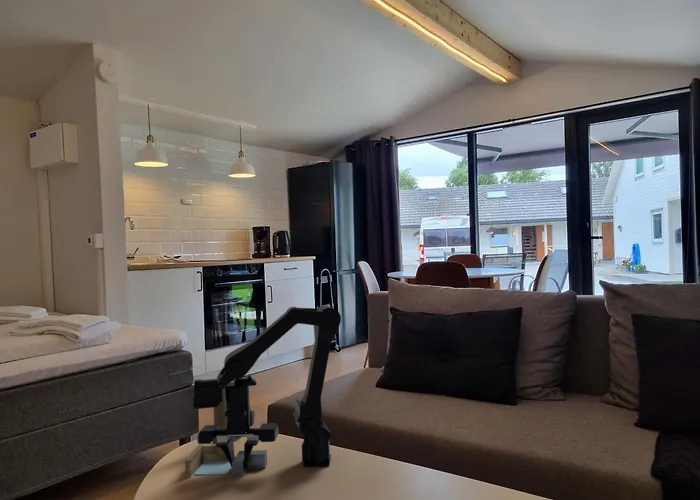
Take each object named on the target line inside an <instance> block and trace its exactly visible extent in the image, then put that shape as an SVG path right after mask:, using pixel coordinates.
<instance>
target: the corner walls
mask: <svg viewBox="0 0 700 500" xmlns="http://www.w3.org/2000/svg"><path fill="white" fill-rule="evenodd" d="M233 446H234V447H235V443H234V442H233ZM227 460H228V459H227V457H226V455H225V454H224V452H223V451H222V449H221V448H220V447H217V446H216V444H212V443H210V444H198V445H197V446H196V447H195V448H194V450H193V451H191V453H190V454H189V456H188V457H187V458H186V459H185V460H184V464H185V465H184V467H185V468H184V469H185V478H191V477H193V476H194V474H195V473H196V471H197V470H198V469H199V467H200V466H201V465H202V464H203V462H204V461H227Z"/></svg>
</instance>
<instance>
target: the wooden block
mask: <svg viewBox="0 0 700 500" xmlns="http://www.w3.org/2000/svg"><path fill="white" fill-rule="evenodd" d="M219 387H220V386H219ZM222 401H223V402H220V404H219V405H218V407H212V408H213V409H212V410H213V425H219V426H220V429H226V417H225V412H226V402H225V388H224V389H222ZM240 438H241V437H234V440H233V443H234V442H235V441H237V440H238V439H240ZM211 444H217V438H214V440H213V441H212V442H211Z"/></svg>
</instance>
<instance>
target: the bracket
mask: <svg viewBox="0 0 700 500" xmlns="http://www.w3.org/2000/svg"><path fill="white" fill-rule="evenodd" d="M267 466H268V450H266V449H264V450H261V449H260V450H259V449H257V450H253V449H252V452H251V455H250V459H249V463H248V466H247V469H245V467H244V450H238V452H237V454H236V455H235V458H234V460H233V461H232V467H231V471H232V473H231V474H232V475H231V476H232V477H235V478H236V477H244V476H245V474H246V472H247V470H248V469H253V470H254V469H266V468H267Z"/></svg>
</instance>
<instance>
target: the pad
mask: <svg viewBox="0 0 700 500" xmlns="http://www.w3.org/2000/svg"><path fill="white" fill-rule="evenodd" d="M231 469H232V467H231V465H230V463H229V461H228V460H227V461H203V462H202V463H201V464H200V466H199V467H198V468H197V470H196V471H195V472H194V474H193V476H206V475H207V476H210V475H211V476H212V475H214V476H215V475H216V476H218V475H228V473H229V472H230V470H231Z"/></svg>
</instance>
